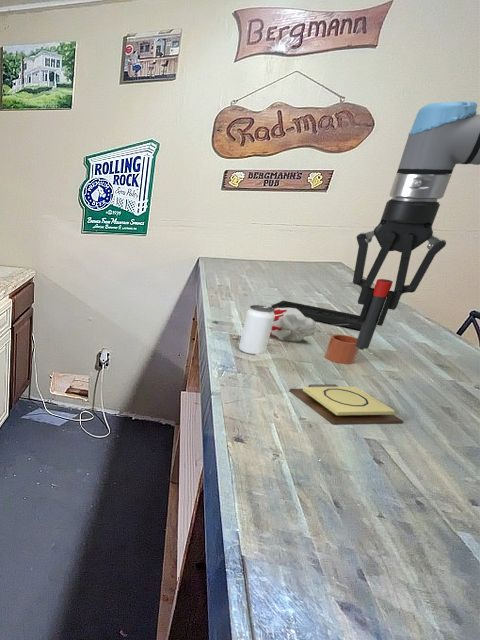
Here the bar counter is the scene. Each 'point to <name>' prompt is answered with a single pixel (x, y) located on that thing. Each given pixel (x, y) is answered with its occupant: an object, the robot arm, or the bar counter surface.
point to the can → (257, 329)
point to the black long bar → (323, 314)
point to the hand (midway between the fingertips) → (370, 321)
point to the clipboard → (342, 418)
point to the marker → (373, 313)
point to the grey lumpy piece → (291, 325)
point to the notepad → (348, 401)
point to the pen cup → (342, 349)
